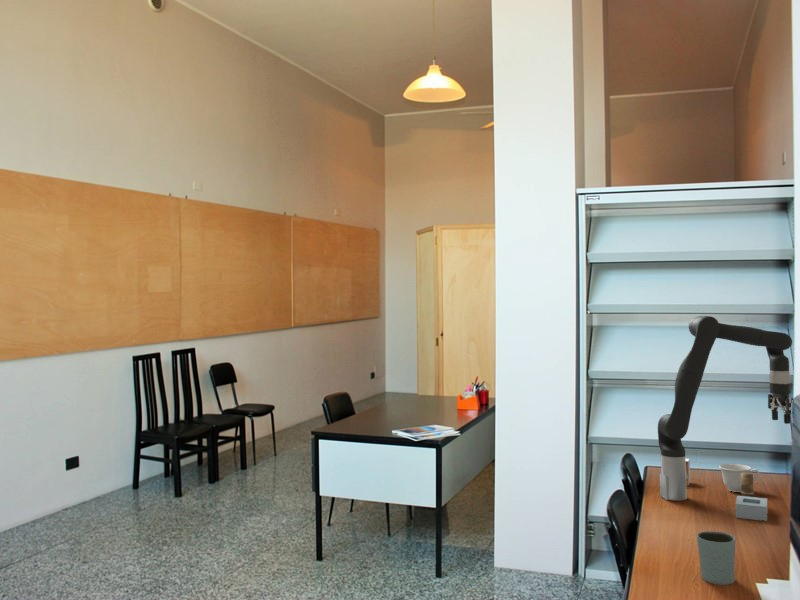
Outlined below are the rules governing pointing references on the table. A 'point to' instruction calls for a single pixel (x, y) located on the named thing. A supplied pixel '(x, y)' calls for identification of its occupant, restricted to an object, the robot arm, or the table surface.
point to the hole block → (751, 508)
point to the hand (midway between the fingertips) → (781, 421)
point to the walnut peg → (747, 484)
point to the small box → (687, 471)
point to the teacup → (735, 475)
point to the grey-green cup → (717, 557)
